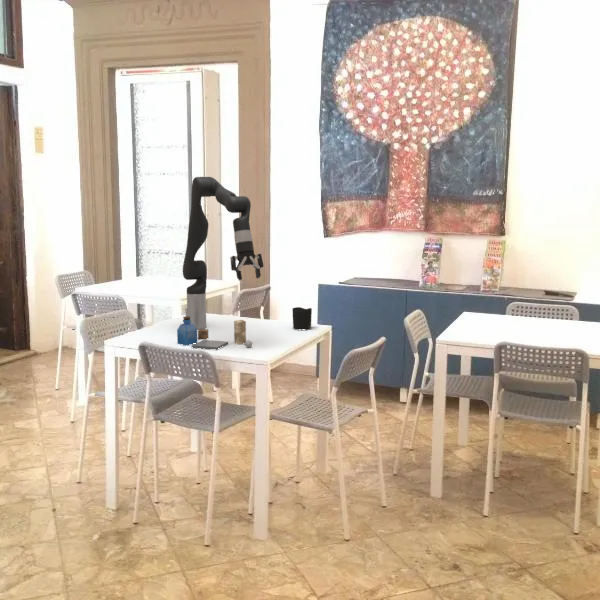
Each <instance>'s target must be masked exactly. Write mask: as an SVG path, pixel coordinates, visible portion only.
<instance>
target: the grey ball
mask: <svg viewBox="0 0 600 600" xmlns="http://www.w3.org/2000/svg"><path fill="white" fill-rule="evenodd" d="M244 345H245V347H247V348H251V347H252V346H253V341H252V340H250V339H248V340H247V339H246V342H245V344H244Z"/></svg>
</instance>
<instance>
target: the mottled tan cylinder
mask: <svg viewBox="0 0 600 600" xmlns="http://www.w3.org/2000/svg"><path fill="white" fill-rule="evenodd" d="M233 332H234V333H233V334H234V335H233V337H234V339H233V342H235V343H234V344H236V343H237V344H236V345H244V344H243V343H245V342H246V341H247V321H245V320H243V319H239V320H233Z"/></svg>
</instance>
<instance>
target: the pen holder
mask: <svg viewBox="0 0 600 600" xmlns="http://www.w3.org/2000/svg"><path fill="white" fill-rule="evenodd" d="M312 310H313V309H312V307H309V308H304V307H301V306H297V307H293V308H292V310H291V311H292V328H293V329H294V328H295V329H309V330H311V328H312ZM295 329H294V330H295Z"/></svg>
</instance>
